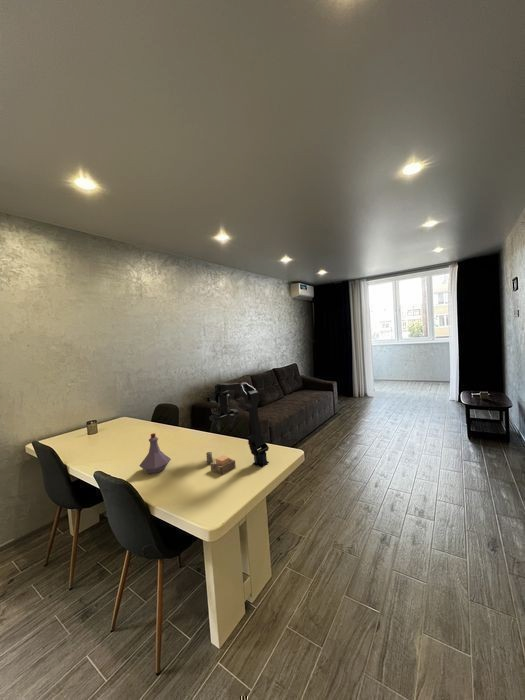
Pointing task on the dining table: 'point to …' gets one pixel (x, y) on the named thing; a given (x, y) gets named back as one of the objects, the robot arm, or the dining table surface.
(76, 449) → the dining table surface
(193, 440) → the dining table surface
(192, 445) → the dining table surface
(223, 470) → the dark brown open box
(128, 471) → the dining table surface
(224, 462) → the tethered block
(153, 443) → the flask
